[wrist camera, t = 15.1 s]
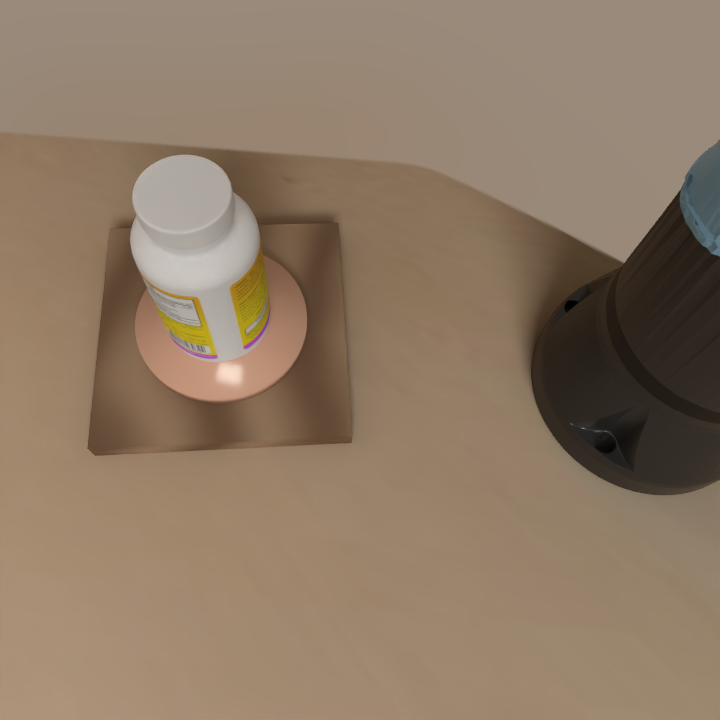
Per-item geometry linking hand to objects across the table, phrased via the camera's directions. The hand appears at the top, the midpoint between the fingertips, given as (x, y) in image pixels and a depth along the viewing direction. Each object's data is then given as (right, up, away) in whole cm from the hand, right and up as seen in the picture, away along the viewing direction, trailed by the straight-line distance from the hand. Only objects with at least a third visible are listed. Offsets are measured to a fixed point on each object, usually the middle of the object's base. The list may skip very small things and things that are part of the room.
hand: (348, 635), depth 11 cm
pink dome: (-9, +7, +34) cm, 35 cm away
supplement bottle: (-9, +7, +33) cm, 35 cm away
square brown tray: (-9, +6, +35) cm, 37 cm away
